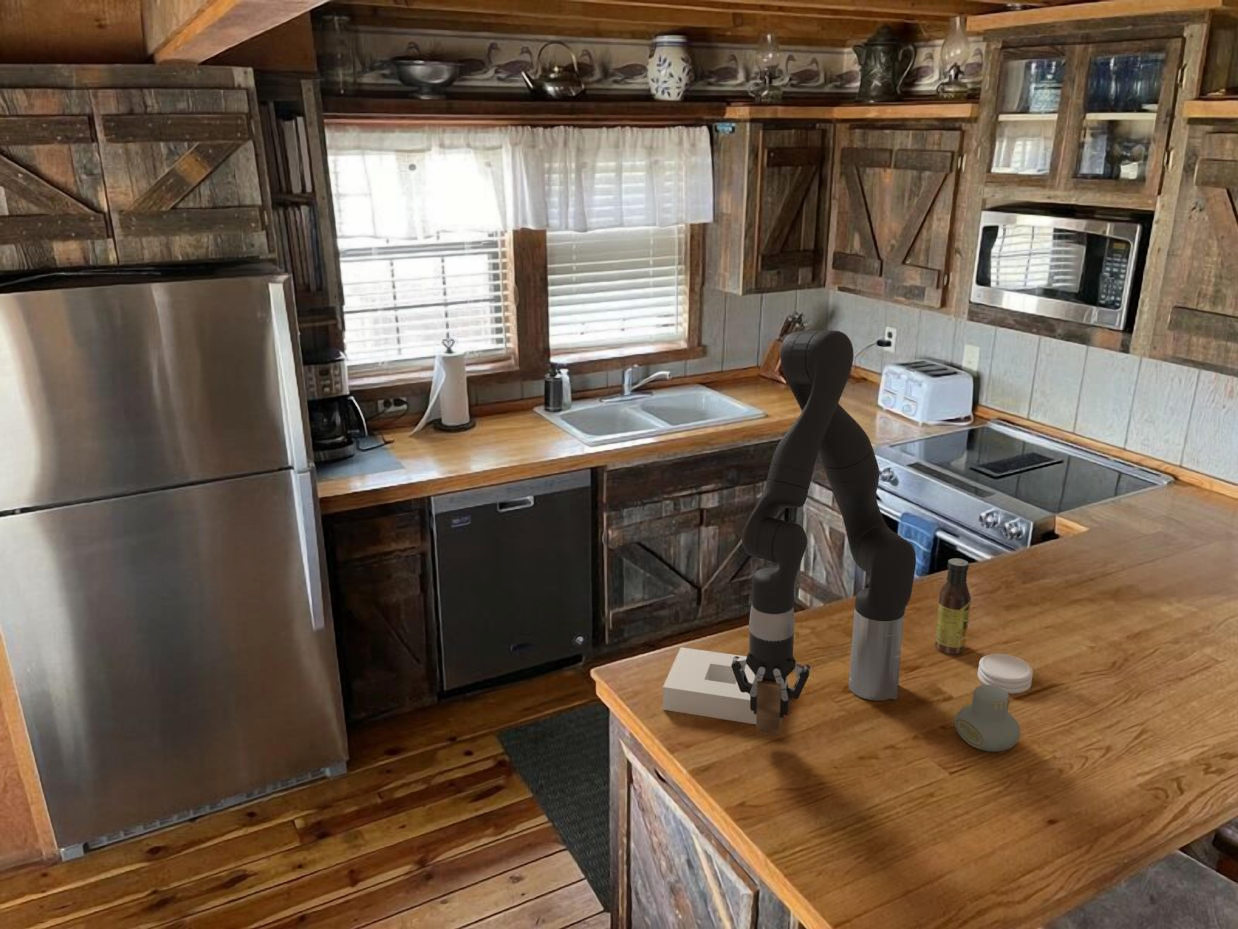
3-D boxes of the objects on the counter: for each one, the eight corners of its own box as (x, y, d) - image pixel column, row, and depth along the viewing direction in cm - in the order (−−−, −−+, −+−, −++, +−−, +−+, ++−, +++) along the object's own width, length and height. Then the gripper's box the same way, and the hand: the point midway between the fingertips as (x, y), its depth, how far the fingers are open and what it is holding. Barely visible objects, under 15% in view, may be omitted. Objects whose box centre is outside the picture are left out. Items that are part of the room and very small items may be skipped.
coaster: (1035, 697, 180) (1038, 681, 179) (981, 692, 182) (983, 676, 181) (1025, 670, 189) (1027, 655, 188) (973, 665, 191) (975, 650, 190)
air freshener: (945, 730, 170) (951, 682, 167) (980, 719, 173) (987, 672, 170) (990, 764, 161) (997, 715, 157) (1026, 752, 164) (1033, 703, 160)
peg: (781, 721, 167) (783, 673, 164) (778, 734, 163) (780, 685, 160) (759, 718, 168) (760, 670, 165) (756, 731, 164) (757, 682, 161)
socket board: (778, 683, 185) (779, 661, 184) (768, 726, 172) (769, 703, 170) (680, 668, 191) (680, 647, 189) (662, 709, 177) (662, 686, 175)
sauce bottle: (966, 657, 193) (977, 570, 187) (935, 654, 195) (945, 568, 188) (962, 641, 199) (972, 557, 193) (932, 639, 201) (941, 554, 194)
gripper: (815, 621, 161) (811, 707, 166) (733, 613, 164) (732, 696, 170) (812, 643, 154) (808, 731, 160) (726, 634, 158) (725, 720, 163)
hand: (769, 713), depth 165 cm, fingers closed on peg, 4 cm apart
